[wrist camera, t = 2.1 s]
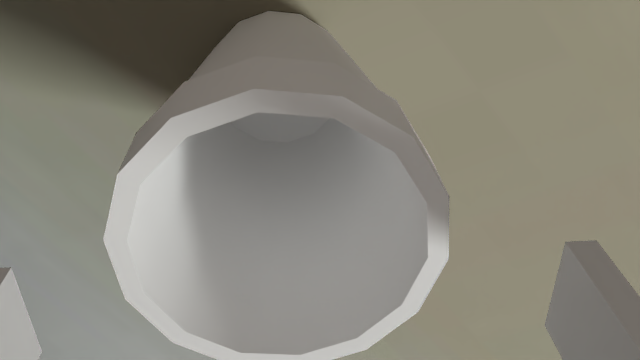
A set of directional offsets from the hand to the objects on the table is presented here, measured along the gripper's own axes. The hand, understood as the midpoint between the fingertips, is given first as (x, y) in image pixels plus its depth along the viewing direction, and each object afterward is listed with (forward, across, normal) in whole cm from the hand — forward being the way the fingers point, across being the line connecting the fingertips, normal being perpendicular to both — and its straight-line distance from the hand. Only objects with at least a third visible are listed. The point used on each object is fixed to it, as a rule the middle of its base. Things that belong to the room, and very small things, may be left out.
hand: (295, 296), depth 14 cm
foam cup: (+15, 0, 0) cm, 15 cm away
